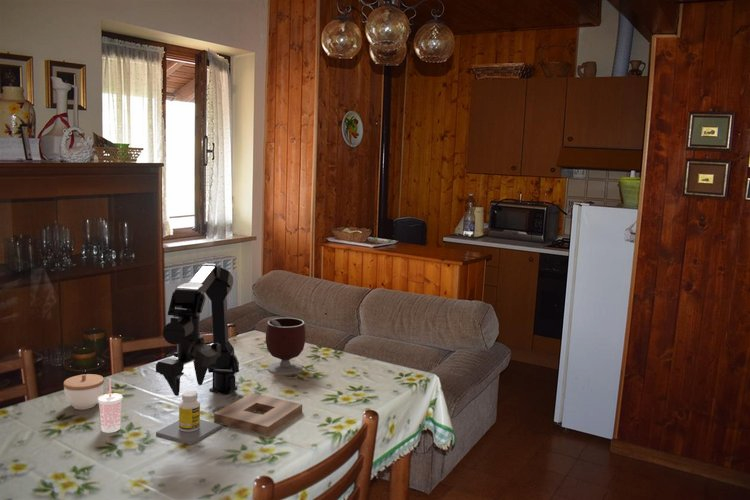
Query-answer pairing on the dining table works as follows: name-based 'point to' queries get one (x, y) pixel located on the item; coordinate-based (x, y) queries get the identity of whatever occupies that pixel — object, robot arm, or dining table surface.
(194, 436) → the pad
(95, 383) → the lidded jar
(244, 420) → the holder block
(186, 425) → the supplement bottle
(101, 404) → the beverage cup
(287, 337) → the mate gourd
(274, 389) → the dining table surface
